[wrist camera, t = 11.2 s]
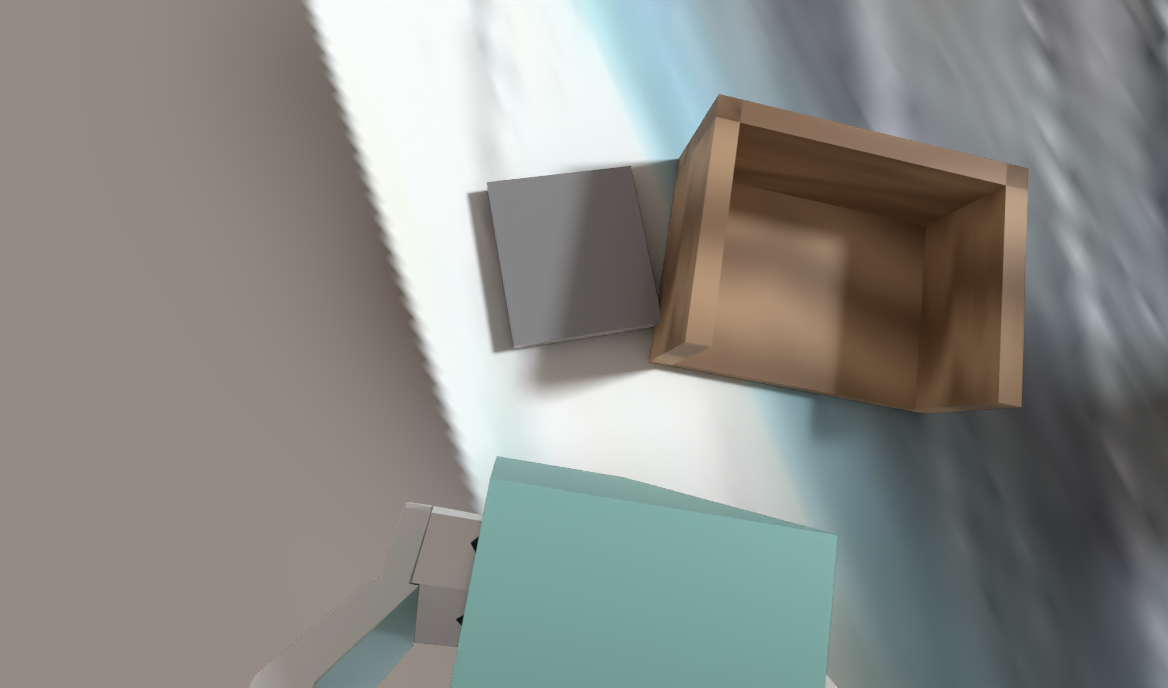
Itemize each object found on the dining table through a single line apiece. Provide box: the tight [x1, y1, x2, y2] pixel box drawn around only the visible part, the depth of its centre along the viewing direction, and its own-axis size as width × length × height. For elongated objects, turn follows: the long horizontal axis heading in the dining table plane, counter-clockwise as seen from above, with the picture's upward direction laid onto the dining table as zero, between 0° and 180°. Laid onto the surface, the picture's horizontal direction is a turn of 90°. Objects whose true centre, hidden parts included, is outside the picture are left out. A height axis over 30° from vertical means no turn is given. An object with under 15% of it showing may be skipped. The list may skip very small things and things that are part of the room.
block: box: [450, 456, 838, 688], centre depth 12 cm, size 4×4×12 cm
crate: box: [649, 94, 1028, 414], centre depth 31 cm, size 12×16×6 cm
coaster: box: [487, 166, 661, 349], centre depth 32 cm, size 8×9×1 cm
